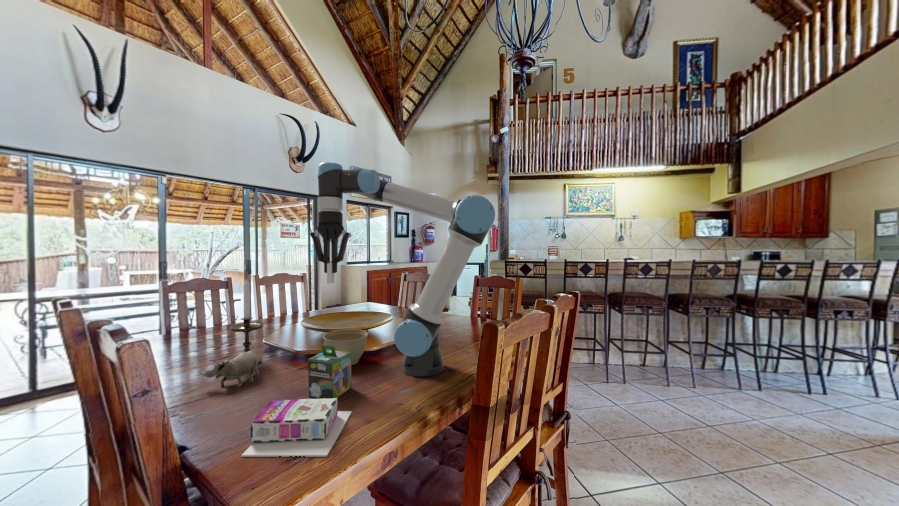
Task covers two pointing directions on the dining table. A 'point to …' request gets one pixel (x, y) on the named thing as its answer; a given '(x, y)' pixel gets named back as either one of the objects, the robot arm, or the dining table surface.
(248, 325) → the candlestick
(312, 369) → the chalk box
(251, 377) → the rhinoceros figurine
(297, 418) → the candy bar box
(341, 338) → the planter bowl
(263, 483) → the dining table surface
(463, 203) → the robot arm
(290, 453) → the mat
